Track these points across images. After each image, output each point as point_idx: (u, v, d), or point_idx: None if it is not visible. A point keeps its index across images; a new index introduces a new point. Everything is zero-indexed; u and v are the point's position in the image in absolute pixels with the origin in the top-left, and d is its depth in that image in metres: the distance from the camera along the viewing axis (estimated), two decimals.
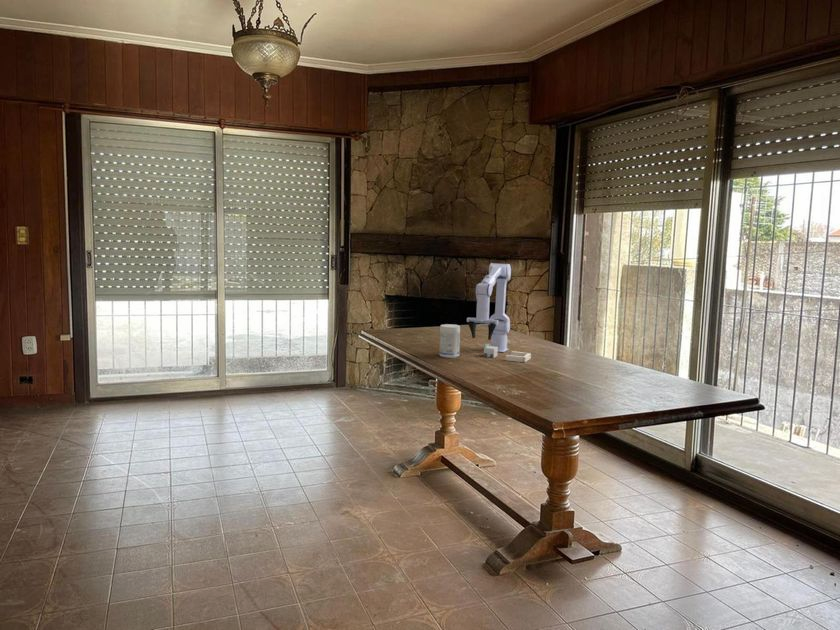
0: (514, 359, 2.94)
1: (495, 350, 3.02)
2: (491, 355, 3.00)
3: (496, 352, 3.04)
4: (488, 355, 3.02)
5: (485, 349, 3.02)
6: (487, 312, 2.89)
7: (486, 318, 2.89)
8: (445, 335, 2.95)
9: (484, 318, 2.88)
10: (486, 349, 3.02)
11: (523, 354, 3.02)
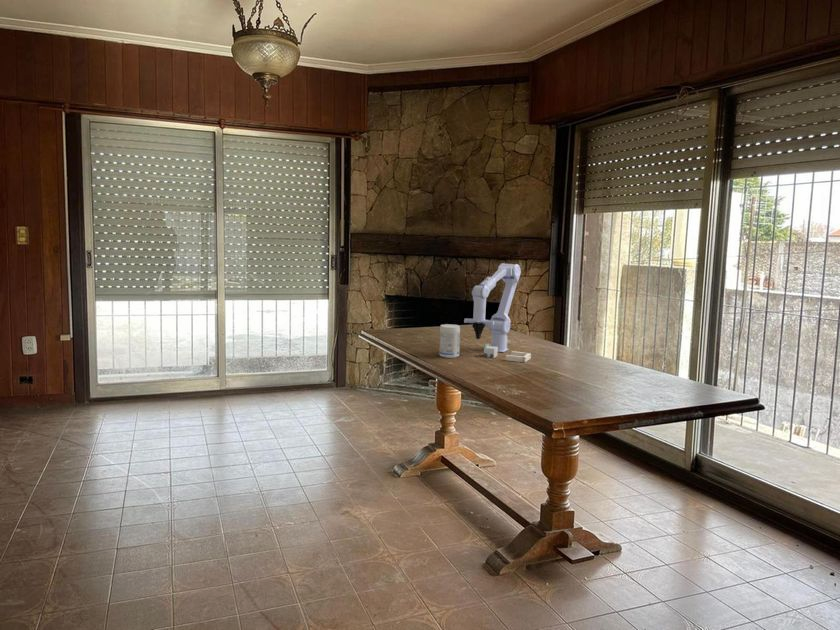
0: (514, 359, 2.94)
1: (495, 350, 3.02)
2: (491, 355, 3.00)
3: (496, 352, 3.04)
4: (488, 355, 3.02)
5: (485, 349, 3.02)
6: (483, 313, 3.02)
7: (482, 319, 3.02)
8: (445, 335, 2.95)
9: (481, 319, 3.02)
10: (486, 349, 3.02)
11: (523, 354, 3.02)
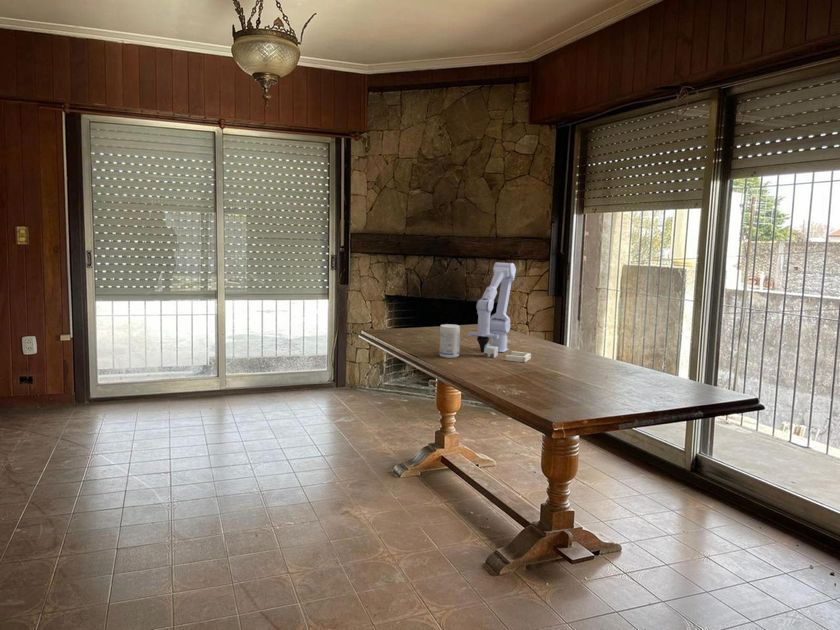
0: (514, 359, 2.94)
1: (495, 350, 3.02)
2: (491, 355, 3.00)
3: (496, 352, 3.04)
4: (488, 355, 3.01)
5: (485, 349, 3.02)
6: (488, 327, 3.02)
7: (487, 333, 3.02)
8: (445, 335, 2.95)
9: (485, 333, 3.02)
10: (486, 349, 3.02)
11: (523, 354, 3.02)
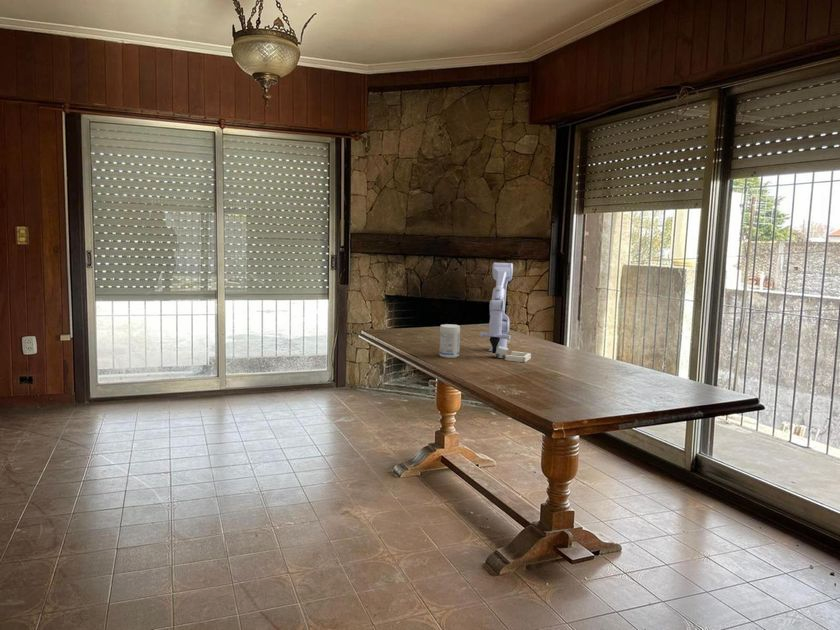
0: (514, 359, 2.94)
1: None
2: (504, 356, 2.98)
3: None
4: (500, 355, 2.99)
5: (498, 349, 2.99)
6: (500, 327, 2.99)
7: (499, 333, 2.99)
8: (445, 335, 2.95)
9: (497, 333, 2.99)
10: (499, 349, 2.99)
11: (523, 354, 3.02)
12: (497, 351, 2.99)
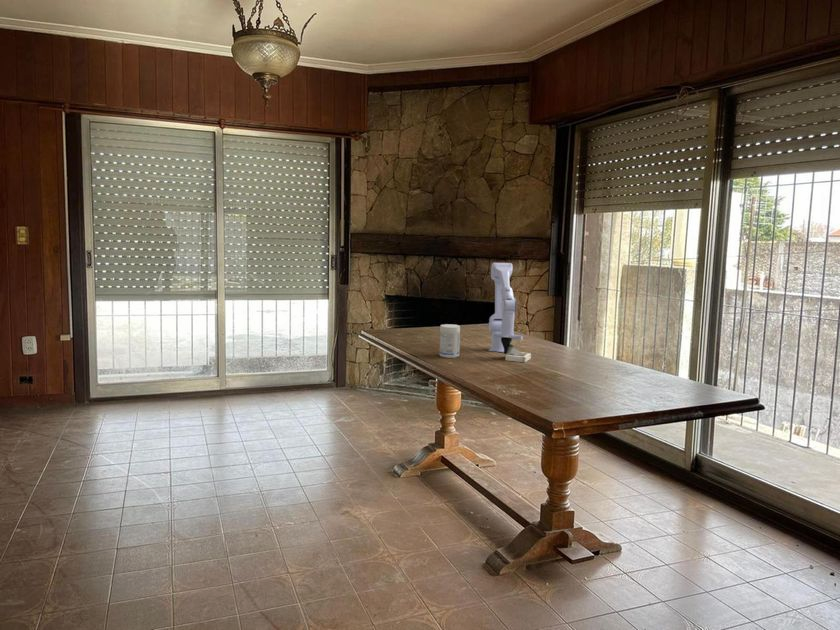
0: (514, 359, 2.94)
1: None
2: None
3: None
4: None
5: (513, 350, 2.97)
6: (512, 328, 2.97)
7: (511, 333, 2.97)
8: (445, 335, 2.95)
9: (509, 333, 2.96)
10: (514, 350, 2.97)
11: (523, 354, 3.02)
12: (512, 351, 2.97)
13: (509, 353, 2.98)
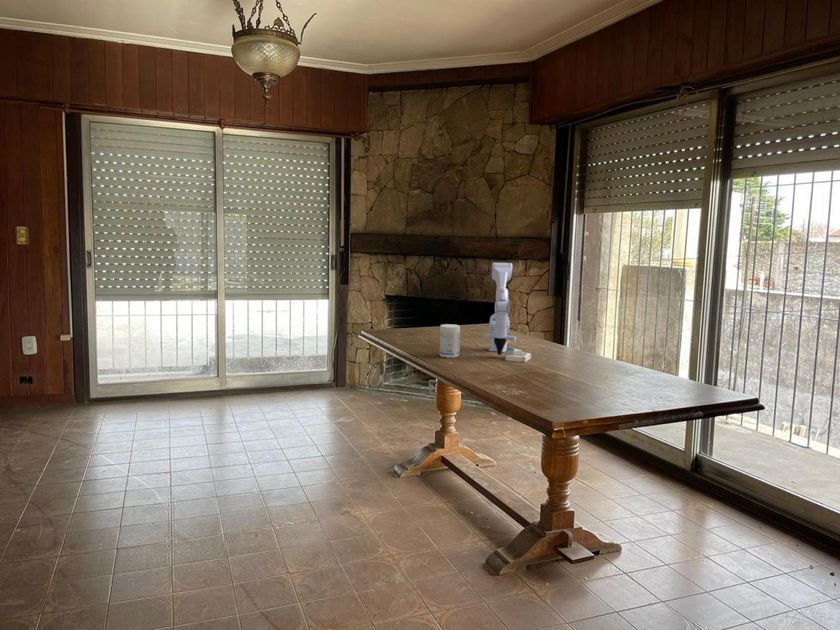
0: (514, 359, 2.94)
1: None
2: None
3: None
4: None
5: (514, 352, 2.96)
6: (505, 329, 2.99)
7: (504, 334, 2.99)
8: (445, 335, 2.95)
9: (502, 334, 2.98)
10: (515, 352, 2.96)
11: (523, 354, 3.02)
12: (514, 354, 2.96)
13: None
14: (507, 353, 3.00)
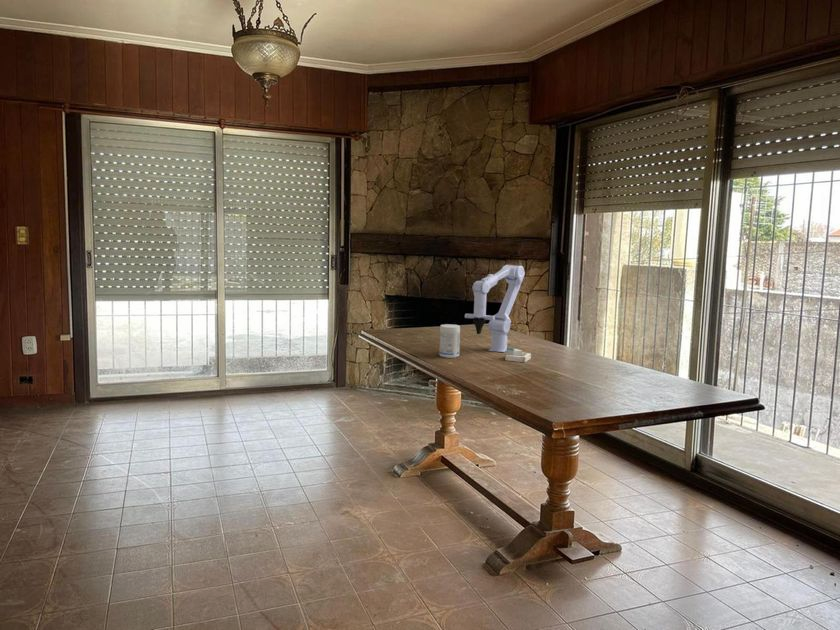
0: (514, 359, 2.94)
1: None
2: None
3: None
4: None
5: (514, 352, 2.96)
6: (484, 308, 3.04)
7: (483, 314, 3.04)
8: (445, 335, 2.95)
9: (481, 314, 3.04)
10: (515, 352, 2.96)
11: (523, 354, 3.02)
12: (514, 354, 2.96)
13: None
14: (507, 353, 3.00)
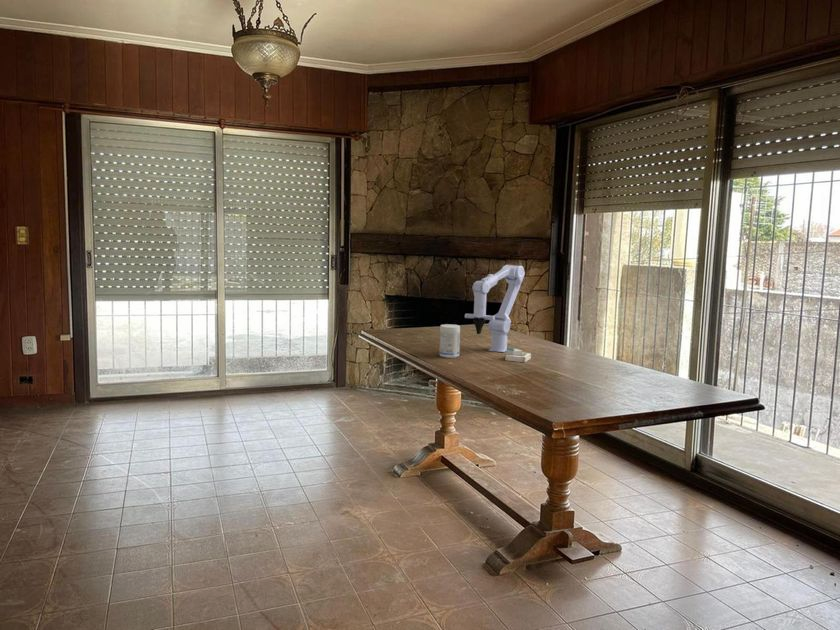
0: (514, 359, 2.94)
1: None
2: None
3: None
4: None
5: (514, 352, 2.96)
6: (484, 308, 3.04)
7: (483, 314, 3.04)
8: (445, 335, 2.95)
9: (481, 314, 3.04)
10: (515, 352, 2.96)
11: (523, 354, 3.02)
12: (514, 354, 2.96)
13: None
14: (507, 353, 3.00)
